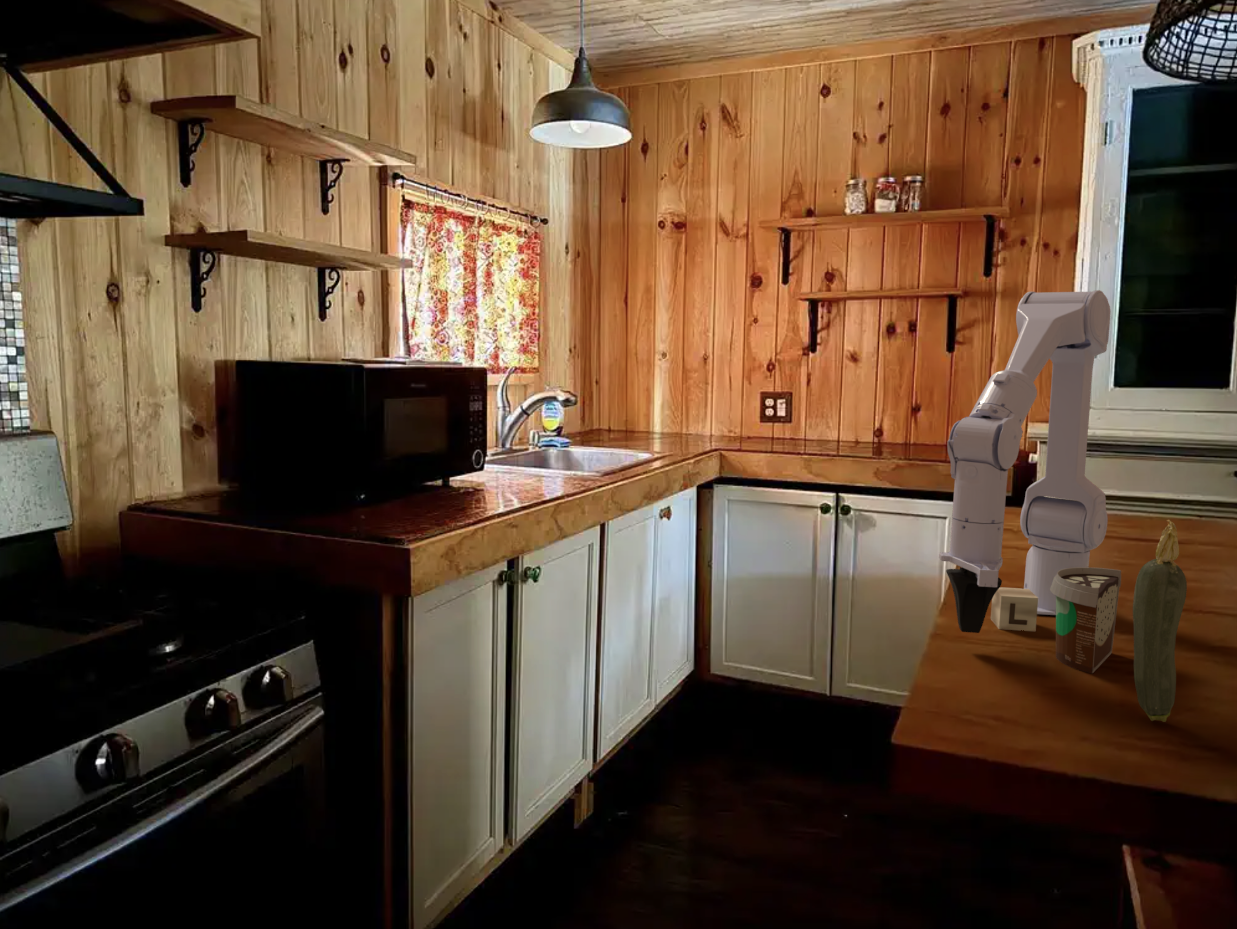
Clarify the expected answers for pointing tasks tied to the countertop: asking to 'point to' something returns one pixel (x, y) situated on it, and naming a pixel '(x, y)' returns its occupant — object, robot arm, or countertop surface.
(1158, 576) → the vegetable
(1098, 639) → the food container
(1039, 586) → the robot arm
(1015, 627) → the letter cube
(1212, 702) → the countertop surface
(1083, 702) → the countertop surface
